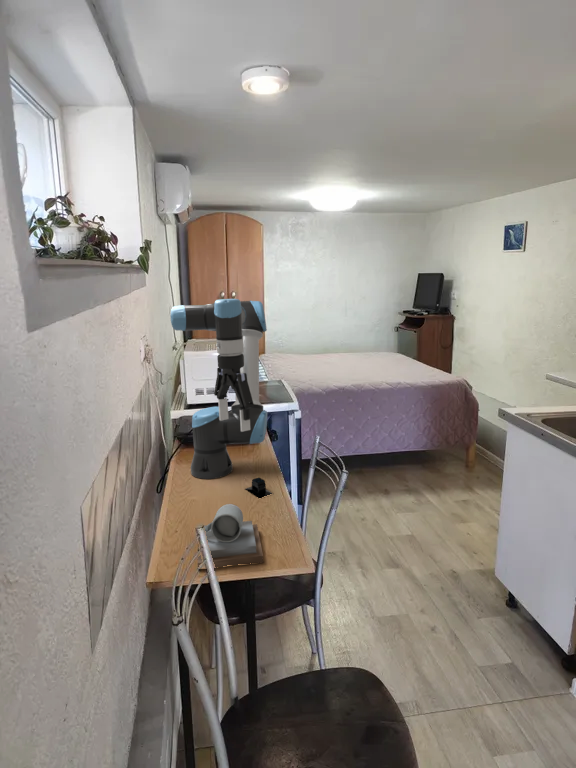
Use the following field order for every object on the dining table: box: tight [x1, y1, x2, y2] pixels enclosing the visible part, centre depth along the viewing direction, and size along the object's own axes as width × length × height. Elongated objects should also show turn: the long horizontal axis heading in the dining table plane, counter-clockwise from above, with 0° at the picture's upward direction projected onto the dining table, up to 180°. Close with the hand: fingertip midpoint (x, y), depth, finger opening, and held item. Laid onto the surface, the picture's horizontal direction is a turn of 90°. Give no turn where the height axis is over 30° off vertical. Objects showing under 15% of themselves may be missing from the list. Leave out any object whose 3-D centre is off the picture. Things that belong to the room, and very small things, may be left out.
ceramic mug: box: [205, 503, 244, 543], centre depth 127 cm, size 11×8×8 cm
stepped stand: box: [197, 520, 264, 569], centre depth 128 cm, size 16×16×4 cm
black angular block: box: [244, 477, 273, 499], centre depth 162 cm, size 12×7×5 cm, turn 35°
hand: (234, 424), depth 145 cm, fingers open, 13 cm apart
